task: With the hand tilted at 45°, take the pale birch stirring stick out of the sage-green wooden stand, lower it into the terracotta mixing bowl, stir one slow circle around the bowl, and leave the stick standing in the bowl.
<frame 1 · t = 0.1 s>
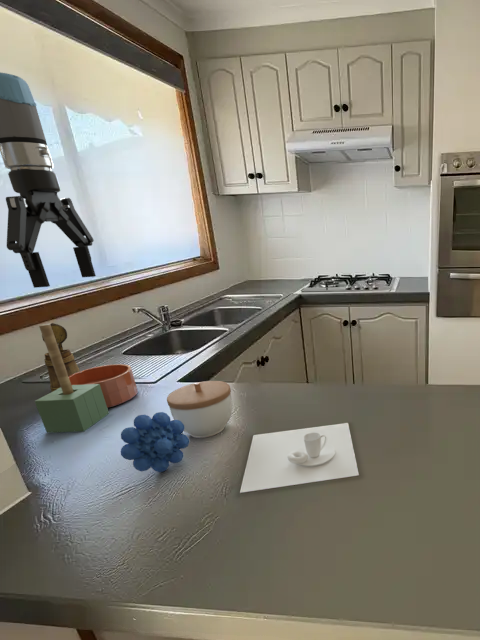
hand: (67, 281, 89), 33 cm above the table, tool pointing down, fingers open, 13 cm apart
stick: (62, 376, 96), in the stick stand
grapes: (166, 473, 78), on the table
wooden barrel with disc: (70, 386, 125), on the table
stick stand: (79, 423, 100), on the table
teacup and saucer: (301, 454, 81), on the table
mixing bowl: (106, 400, 112), on the table
lidded bowl: (208, 430, 92), on the table
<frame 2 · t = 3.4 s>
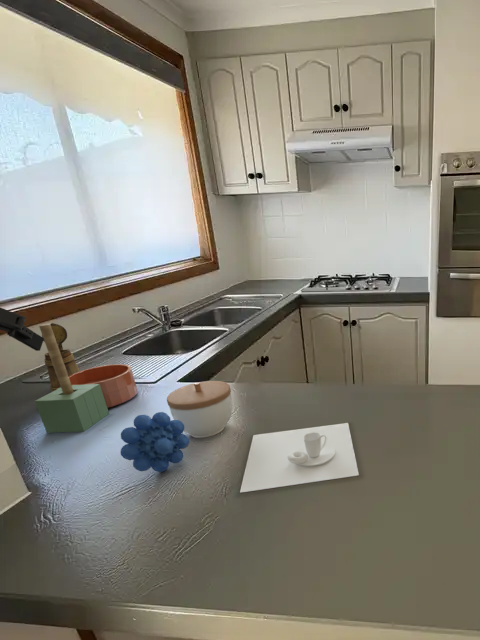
hand: (7, 346, 83), 22 cm above the table, tool tilted 45°, fingers open, 13 cm apart
nothing on the table moved.
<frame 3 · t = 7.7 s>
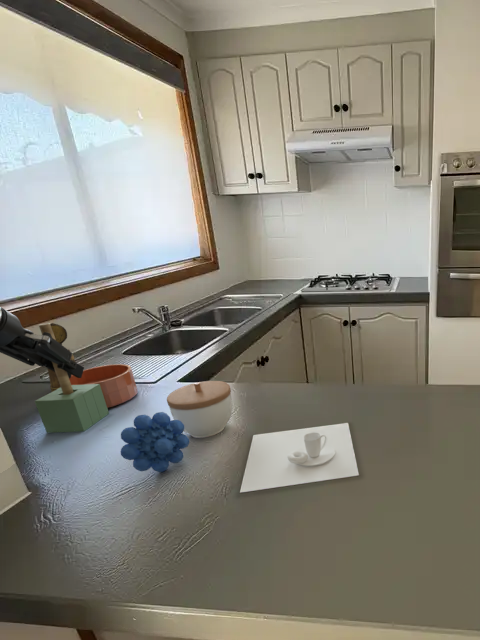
hand: (75, 373, 100), 11 cm above the table, tool tilted 45°, fingers closed on stick, 2 cm apart
stick: (62, 375, 96), in the stick stand, touching gripper
everything else where it was.
when the fingers open (12 cm above the table, at t = 21.2 s): stick stays where it is, resting on mixing bowl.
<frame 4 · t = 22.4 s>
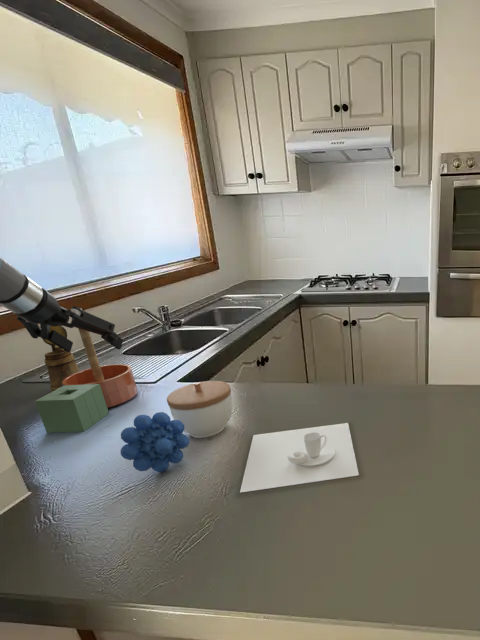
hand: (95, 346, 109), 14 cm above the table, tool tilted 45°, fingers open, 13 cm apart
stick: (91, 355, 108), in the mixing bowl, point 13 cm above the table
everything else where it was.
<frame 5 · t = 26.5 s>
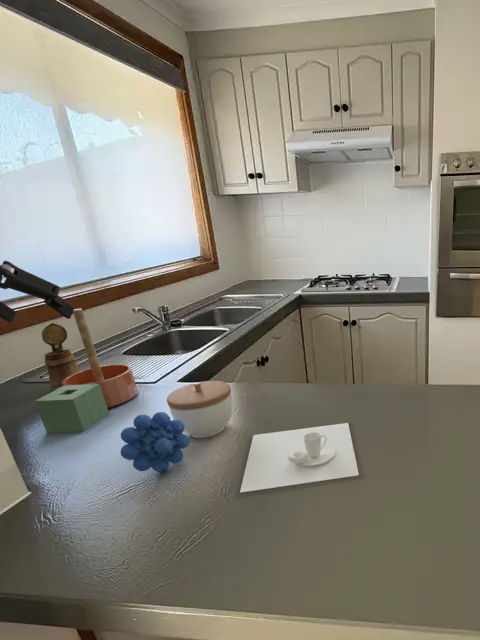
hand: (41, 315, 93), 26 cm above the table, tool tilted 45°, fingers open, 13 cm apart
nothing on the table moved.
at the end: stick inside the target area in the mixing bowl (0.1 cm from its centre), point 12.6 cm above the mixing bowl's base; the gripper is holding nothing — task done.
